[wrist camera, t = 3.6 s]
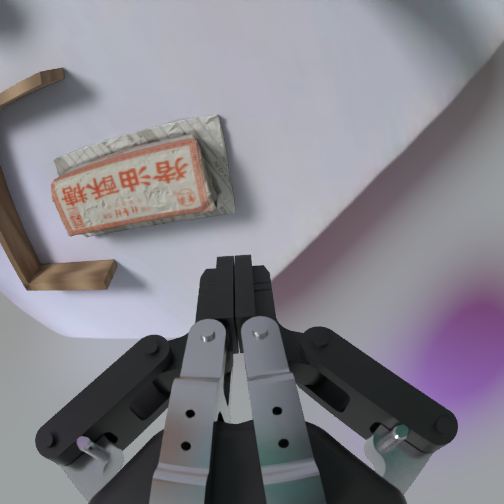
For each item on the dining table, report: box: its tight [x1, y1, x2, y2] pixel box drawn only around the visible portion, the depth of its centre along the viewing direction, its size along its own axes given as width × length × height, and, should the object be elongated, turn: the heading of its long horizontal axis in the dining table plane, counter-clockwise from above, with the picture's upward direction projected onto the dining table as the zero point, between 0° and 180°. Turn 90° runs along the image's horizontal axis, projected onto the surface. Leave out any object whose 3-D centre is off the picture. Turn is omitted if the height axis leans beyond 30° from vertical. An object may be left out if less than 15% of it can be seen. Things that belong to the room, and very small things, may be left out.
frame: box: [0, 68, 117, 290], centre depth 24 cm, size 14×24×4 cm, turn 3°
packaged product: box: [51, 115, 235, 237], centre depth 25 cm, size 18×5×10 cm
